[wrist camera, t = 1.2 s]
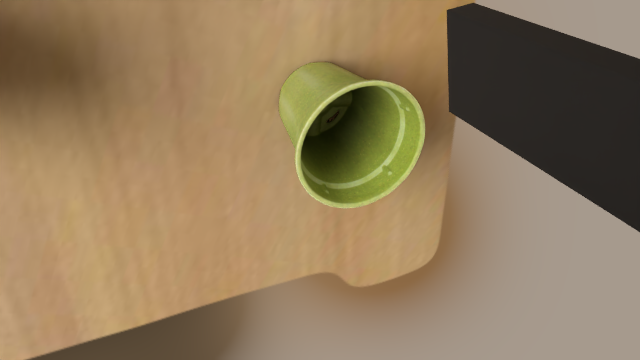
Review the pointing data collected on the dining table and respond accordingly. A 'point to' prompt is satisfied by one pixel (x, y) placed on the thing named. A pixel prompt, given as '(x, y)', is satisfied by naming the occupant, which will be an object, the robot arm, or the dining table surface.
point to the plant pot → (350, 134)
